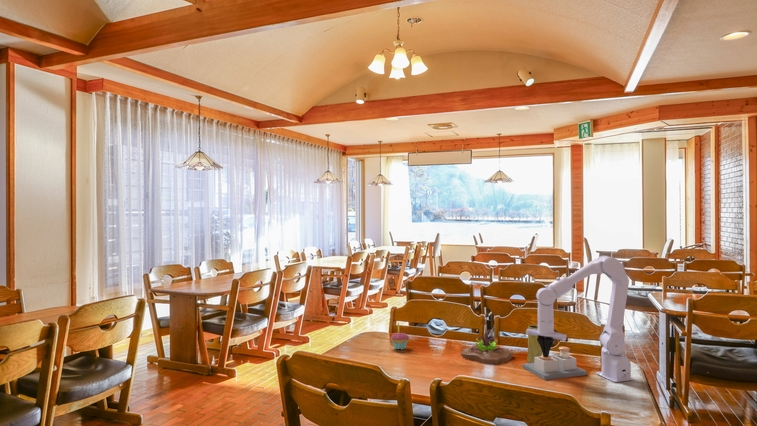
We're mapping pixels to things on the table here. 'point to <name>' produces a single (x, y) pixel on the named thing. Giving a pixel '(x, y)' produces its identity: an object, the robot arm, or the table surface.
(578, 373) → the panel
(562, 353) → the knob
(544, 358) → the knob
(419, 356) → the table surface
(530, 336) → the vase
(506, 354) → the plant
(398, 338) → the cupcake
